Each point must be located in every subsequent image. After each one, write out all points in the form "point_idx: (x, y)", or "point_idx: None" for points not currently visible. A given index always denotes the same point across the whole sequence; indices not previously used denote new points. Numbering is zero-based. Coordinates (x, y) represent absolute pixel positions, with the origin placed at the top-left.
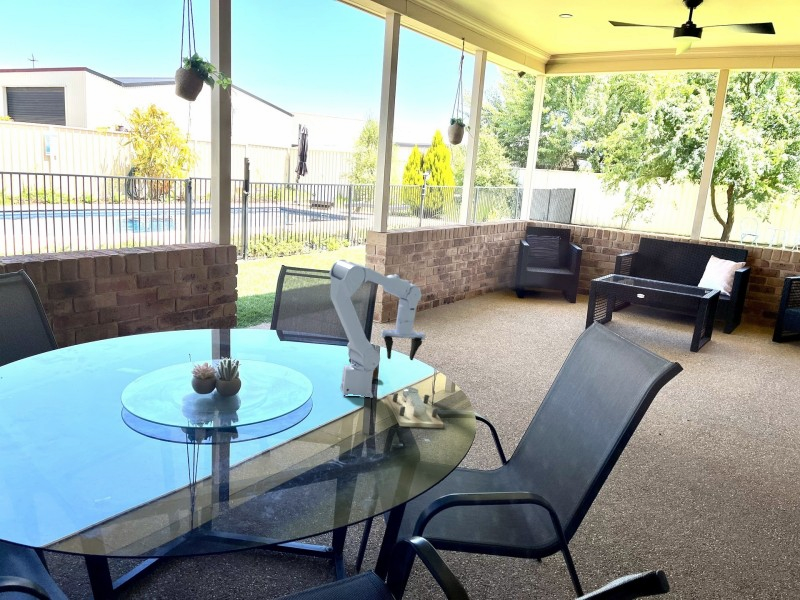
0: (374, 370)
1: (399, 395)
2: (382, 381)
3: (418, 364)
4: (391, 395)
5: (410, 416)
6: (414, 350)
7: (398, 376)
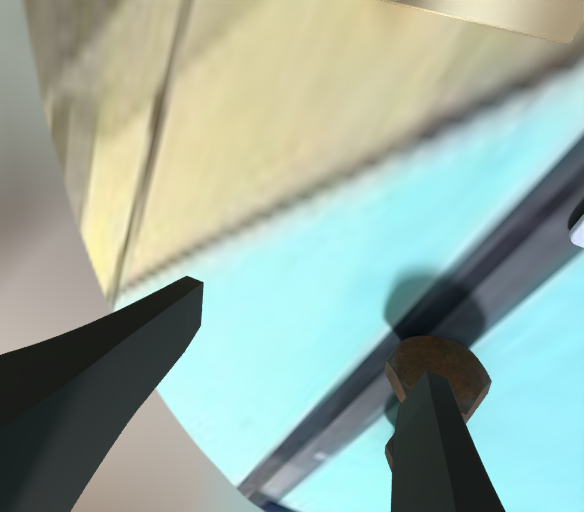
0: (418, 374)
1: (454, 10)
2: (383, 301)
3: None
4: (538, 15)
5: None
6: (92, 346)
7: (269, 322)
